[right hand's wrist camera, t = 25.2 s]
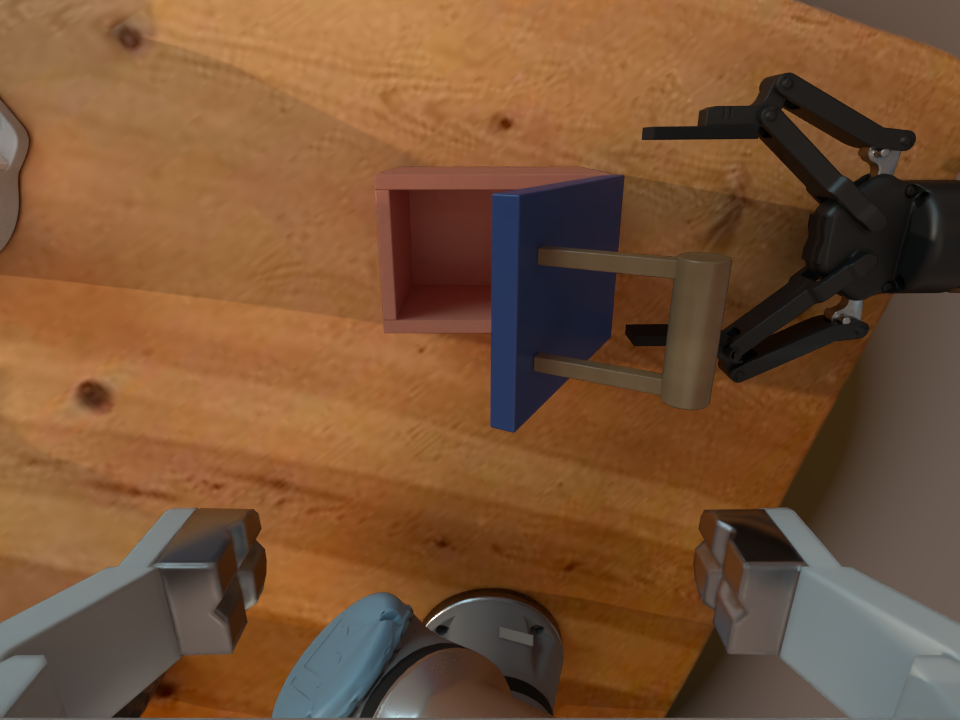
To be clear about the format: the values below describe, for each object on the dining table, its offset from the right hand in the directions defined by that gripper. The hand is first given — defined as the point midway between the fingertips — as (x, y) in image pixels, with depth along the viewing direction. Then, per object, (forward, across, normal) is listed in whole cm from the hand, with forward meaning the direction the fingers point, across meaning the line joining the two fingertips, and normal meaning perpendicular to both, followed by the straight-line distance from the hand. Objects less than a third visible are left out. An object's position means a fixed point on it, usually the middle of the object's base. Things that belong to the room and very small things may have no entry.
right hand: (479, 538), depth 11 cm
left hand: (+31, +11, 0) cm, 33 cm away
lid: (+20, +4, 0) cm, 20 cm away
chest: (+37, +1, 0) cm, 37 cm away
